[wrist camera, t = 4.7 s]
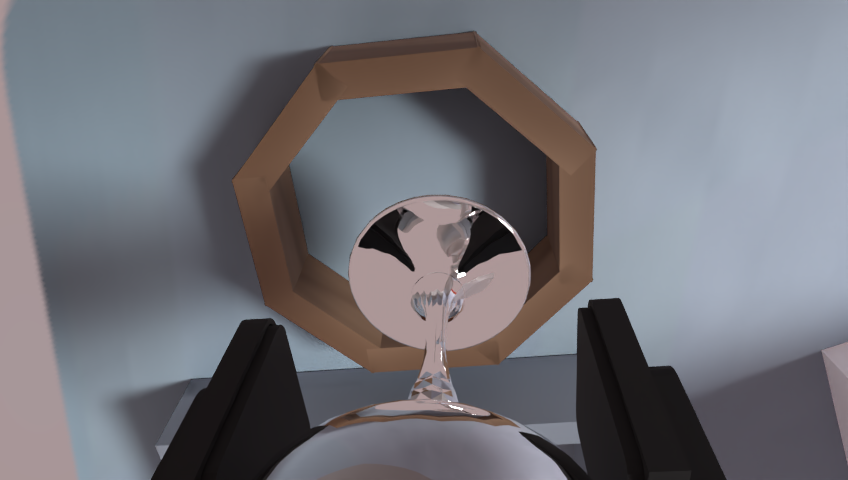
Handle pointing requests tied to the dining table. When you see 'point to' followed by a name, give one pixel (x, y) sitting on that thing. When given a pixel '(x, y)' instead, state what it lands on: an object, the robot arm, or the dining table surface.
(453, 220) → the wineglass
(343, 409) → the tray
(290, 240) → the collar
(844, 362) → the milk
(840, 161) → the dining table surface
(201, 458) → the robot arm
